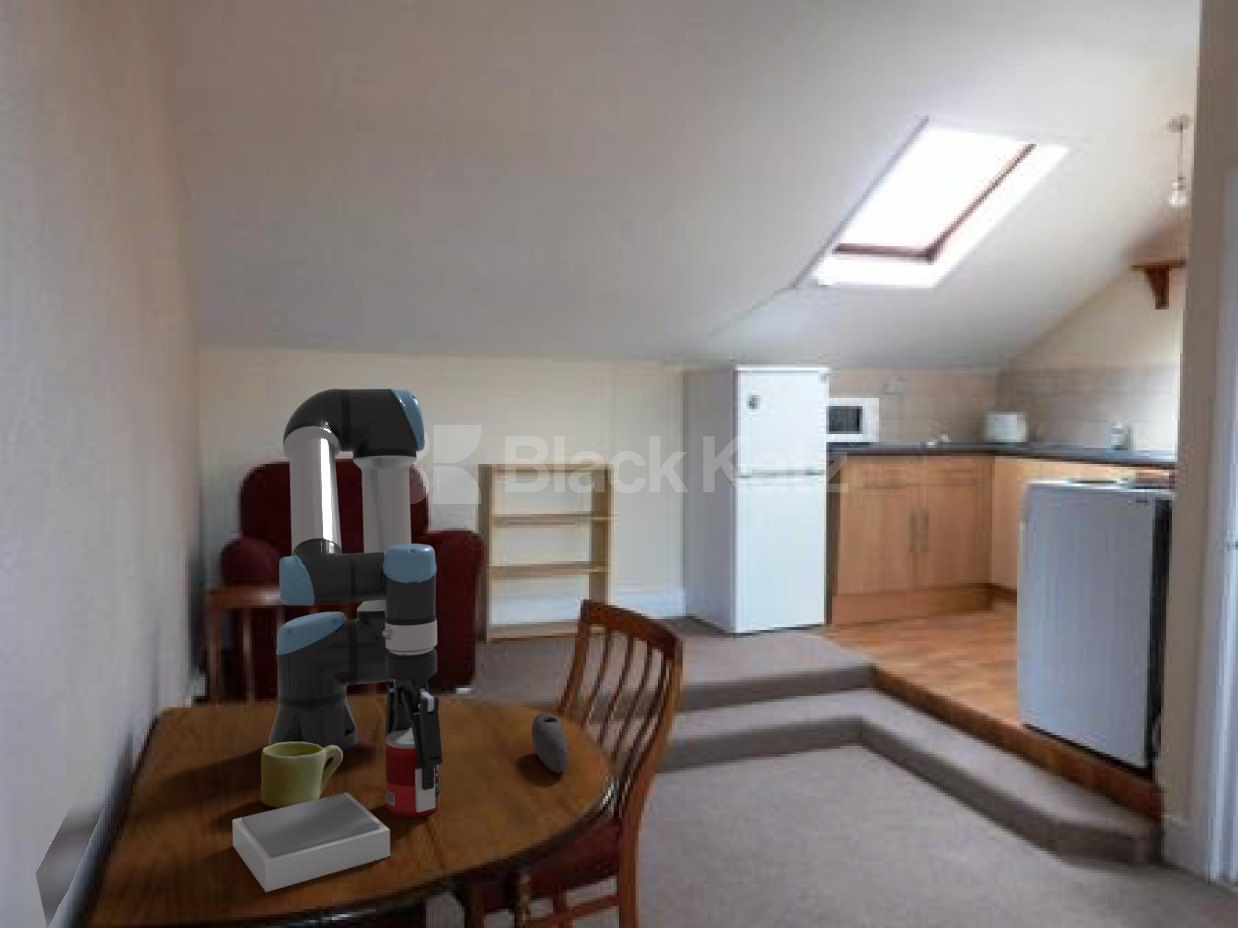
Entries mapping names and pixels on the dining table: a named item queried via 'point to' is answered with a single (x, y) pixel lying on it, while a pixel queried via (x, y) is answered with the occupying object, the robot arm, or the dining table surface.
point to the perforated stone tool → (550, 741)
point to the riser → (309, 840)
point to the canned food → (404, 776)
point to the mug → (296, 772)
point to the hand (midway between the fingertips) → (413, 799)
